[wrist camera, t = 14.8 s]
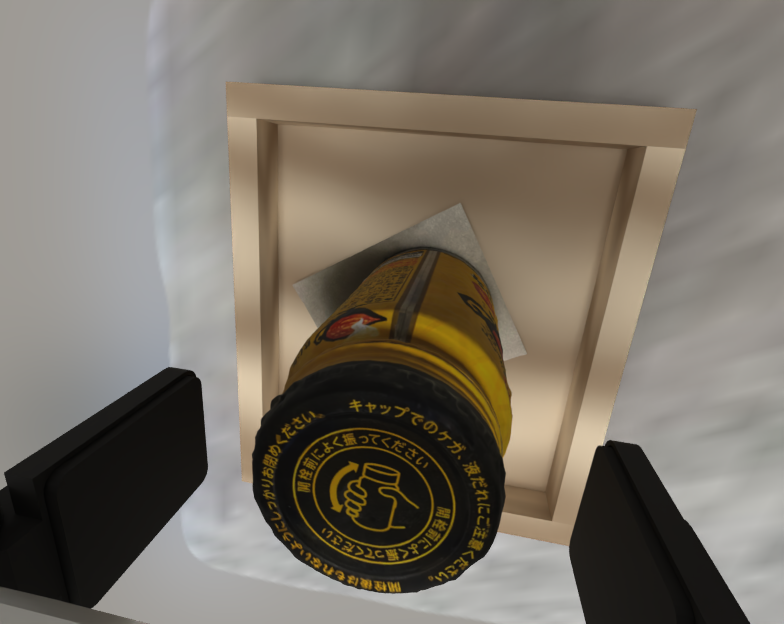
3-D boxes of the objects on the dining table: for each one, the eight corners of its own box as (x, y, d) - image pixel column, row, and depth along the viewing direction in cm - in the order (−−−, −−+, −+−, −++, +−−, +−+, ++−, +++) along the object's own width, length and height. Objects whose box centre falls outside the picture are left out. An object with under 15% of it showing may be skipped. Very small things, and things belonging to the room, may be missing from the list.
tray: (256, 93, 18) (225, 81, 16) (663, 118, 16) (696, 109, 14) (264, 451, 24) (241, 481, 22) (563, 507, 22) (573, 547, 20)
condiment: (526, 351, 19) (605, 603, 8) (364, 410, 22) (249, 666, 10) (460, 202, 18) (443, 249, 6) (294, 283, 20) (72, 419, 9)
